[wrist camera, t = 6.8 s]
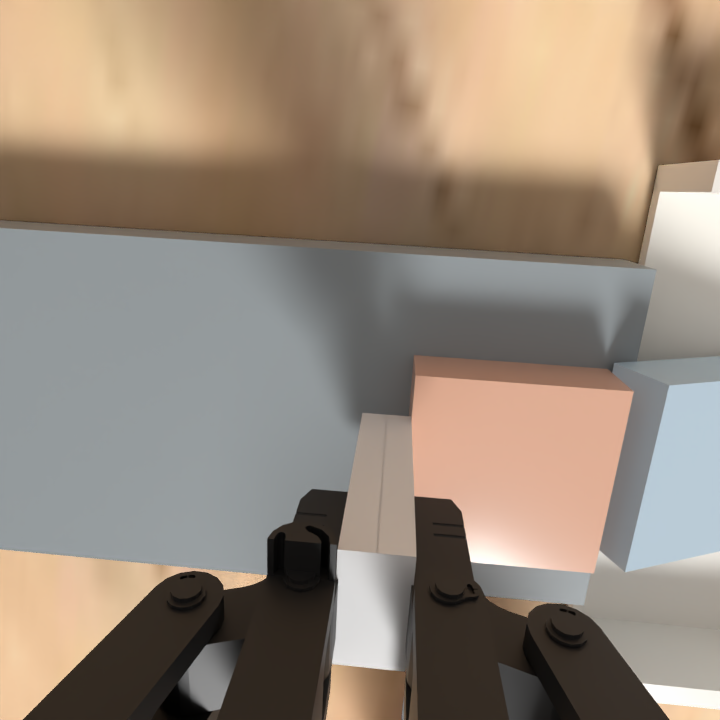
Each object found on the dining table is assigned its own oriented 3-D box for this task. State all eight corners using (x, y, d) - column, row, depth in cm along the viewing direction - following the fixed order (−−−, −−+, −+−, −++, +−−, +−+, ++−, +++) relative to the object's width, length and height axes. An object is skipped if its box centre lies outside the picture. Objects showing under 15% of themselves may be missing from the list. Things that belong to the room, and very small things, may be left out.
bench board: (36, 511, 23) (-7, 548, 21) (-6, 219, 20) (-63, 223, 17) (564, 560, 22) (583, 605, 20) (623, 259, 18) (656, 269, 16)
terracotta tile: (399, 519, 19) (399, 555, 17) (413, 354, 17) (415, 375, 15) (574, 534, 19) (594, 573, 17) (607, 368, 17) (634, 391, 15)
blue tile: (579, 533, 18) (625, 572, 16) (614, 362, 16) (669, 385, 15) (711, 508, 20) (765, 541, 18) (755, 353, 18) (819, 372, 17)
